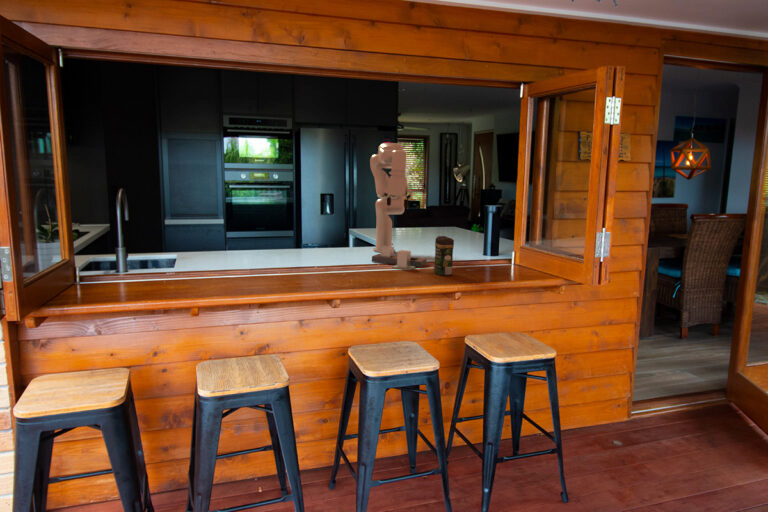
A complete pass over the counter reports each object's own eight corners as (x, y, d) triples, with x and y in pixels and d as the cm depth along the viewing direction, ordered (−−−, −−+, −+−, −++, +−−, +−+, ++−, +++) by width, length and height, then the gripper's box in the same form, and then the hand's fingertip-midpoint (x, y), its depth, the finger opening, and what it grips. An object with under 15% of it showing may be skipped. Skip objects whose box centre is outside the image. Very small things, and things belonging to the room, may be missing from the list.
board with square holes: (378, 259, 289) (379, 253, 289) (426, 264, 278) (426, 258, 277) (371, 261, 281) (371, 256, 281) (420, 267, 270) (420, 261, 269)
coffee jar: (431, 272, 259) (433, 235, 256) (446, 271, 262) (447, 234, 258) (439, 276, 250) (441, 238, 247) (454, 275, 252) (456, 237, 249)
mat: (397, 265, 272) (397, 264, 272) (415, 267, 268) (415, 266, 268) (391, 267, 266) (392, 266, 266) (410, 270, 262) (410, 269, 262)
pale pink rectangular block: (400, 265, 271) (401, 250, 269) (410, 266, 269) (410, 251, 267) (397, 267, 266) (397, 251, 265) (406, 268, 264) (407, 252, 262)
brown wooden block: (384, 260, 286) (385, 246, 284) (393, 261, 284) (393, 247, 282) (380, 262, 281) (381, 247, 280) (389, 263, 279) (390, 248, 278)
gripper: (380, 173, 278) (379, 205, 282) (410, 175, 272) (409, 208, 275) (386, 173, 285) (385, 204, 289) (416, 174, 278) (414, 206, 282)
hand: (397, 206), depth 282 cm, fingers open, 9 cm apart
